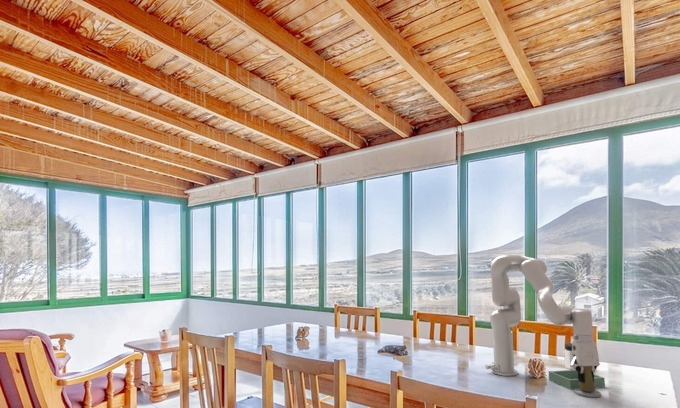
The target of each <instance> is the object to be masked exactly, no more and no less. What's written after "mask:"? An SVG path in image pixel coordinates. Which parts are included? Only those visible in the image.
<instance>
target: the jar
mask: <svg viewBox="0 0 680 408" xmlns="http://www.w3.org/2000/svg"><path fill="white" fill-rule="evenodd" d="M572 343H573V342H572ZM572 343H571V342H570V343H564V348H563V349H564V350H563V351H564V367H565V368H566V369H567V370H568V369H569V370H575V369H574V368H573V367H572V366H570V364H571V362H572ZM576 365H577V364H576Z"/></svg>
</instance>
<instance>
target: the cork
mask: <svg viewBox="0 0 680 408" xmlns="http://www.w3.org/2000/svg"><path fill="white" fill-rule="evenodd" d="M579 368H580V366H579ZM592 369H593V368H592V366H586V367H583V373H584V374H585V383H582V382H580V383H579V389H581V390H584V391H590V392H592V391H595V390H596V388H595V387H594V382H593V377H592V373H591V371H592Z"/></svg>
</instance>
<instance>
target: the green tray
mask: <svg viewBox="0 0 680 408" xmlns="http://www.w3.org/2000/svg"><path fill="white" fill-rule="evenodd" d="M548 381H550V382H552V381H553V383H555V384H557V385H559V386H562V387H563V388H566V389H568V390H574V389H575V388H579V383H580V381H578V372H577V371H576V370H570V369H569V370H568V369H566V370H552V371H551V370H549V371H548ZM605 382H606V381H605V377H603V376H601V375H598V374H596V373H594V387H595V389H596V388H606V383H605Z"/></svg>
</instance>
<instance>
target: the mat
mask: <svg viewBox="0 0 680 408" xmlns="http://www.w3.org/2000/svg"><path fill="white" fill-rule="evenodd" d="M573 392H574V394H576V395H577V396H579V397H584V398H590V399H597V398H601V397H602V392H600V391H598V390H596V389H595V391H592V392H590V391H584V390H581V389H579V388H575V389H573Z"/></svg>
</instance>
